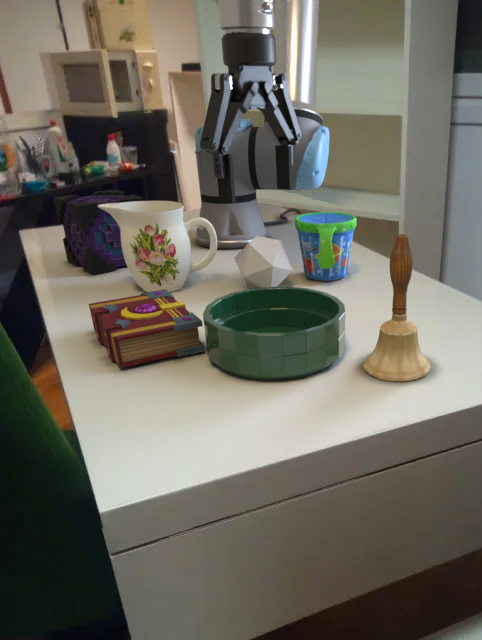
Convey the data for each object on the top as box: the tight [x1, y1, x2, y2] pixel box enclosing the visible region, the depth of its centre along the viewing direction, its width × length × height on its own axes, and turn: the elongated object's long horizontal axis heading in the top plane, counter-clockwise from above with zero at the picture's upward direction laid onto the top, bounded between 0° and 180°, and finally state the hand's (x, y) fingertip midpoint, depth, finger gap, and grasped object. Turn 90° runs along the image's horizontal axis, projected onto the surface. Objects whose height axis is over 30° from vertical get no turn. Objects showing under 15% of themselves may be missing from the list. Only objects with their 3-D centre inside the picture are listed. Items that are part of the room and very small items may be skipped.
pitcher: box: [98, 200, 218, 293], centre depth 98 cm, size 11×18×14 cm, turn 104°
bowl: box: [202, 286, 346, 381], centre depth 76 cm, size 18×18×6 cm
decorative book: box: [88, 289, 207, 369], centre depth 80 cm, size 11×16×5 cm
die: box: [234, 236, 294, 289], centre depth 99 cm, size 8×9×10 cm
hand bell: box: [362, 233, 432, 383], centre depth 69 cm, size 8×8×16 cm
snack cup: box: [294, 211, 357, 282], centre depth 103 cm, size 16×10×10 cm
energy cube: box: [52, 189, 144, 276], centre depth 112 cm, size 12×12×12 cm
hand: (257, 195), depth 93 cm, fingers open, 13 cm apart
